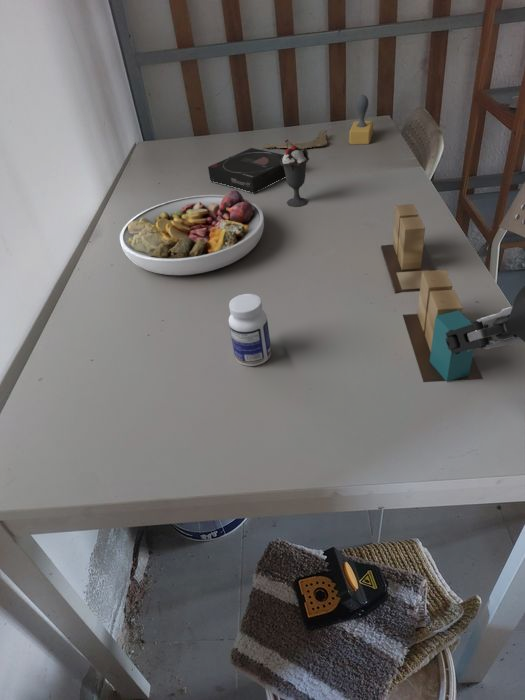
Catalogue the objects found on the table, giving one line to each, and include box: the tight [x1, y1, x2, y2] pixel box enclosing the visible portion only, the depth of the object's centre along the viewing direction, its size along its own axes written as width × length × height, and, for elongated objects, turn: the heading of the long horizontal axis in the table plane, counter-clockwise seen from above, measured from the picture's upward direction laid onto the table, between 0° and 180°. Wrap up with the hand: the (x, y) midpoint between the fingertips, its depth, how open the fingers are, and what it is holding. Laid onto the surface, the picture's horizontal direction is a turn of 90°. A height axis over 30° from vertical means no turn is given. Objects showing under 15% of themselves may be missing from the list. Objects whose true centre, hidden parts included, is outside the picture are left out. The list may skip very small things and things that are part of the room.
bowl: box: [119, 189, 265, 276], centre depth 108 cm, size 30×30×8 cm
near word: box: [402, 269, 484, 383], centre depth 75 cm, size 8×16×9 cm, turn 178°
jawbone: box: [262, 129, 329, 150], centre depth 153 cm, size 9×20×2 cm, turn 105°
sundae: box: [280, 139, 310, 208], centre depth 118 cm, size 7×7×15 cm
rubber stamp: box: [349, 94, 374, 145], centre depth 150 cm, size 10×6×12 cm, turn 165°
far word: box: [380, 203, 435, 295], centre depth 92 cm, size 8×17×9 cm, turn 178°
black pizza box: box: [207, 147, 286, 194], centre depth 137 cm, size 16×17×4 cm
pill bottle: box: [228, 293, 272, 367], centre depth 77 cm, size 6×6×10 cm
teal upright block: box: [430, 311, 475, 382], centre depth 70 cm, size 3×5×8 cm
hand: (482, 335), depth 62 cm, fingers open, 8 cm apart
